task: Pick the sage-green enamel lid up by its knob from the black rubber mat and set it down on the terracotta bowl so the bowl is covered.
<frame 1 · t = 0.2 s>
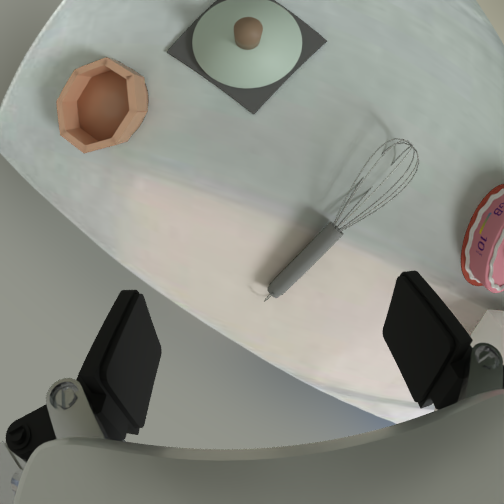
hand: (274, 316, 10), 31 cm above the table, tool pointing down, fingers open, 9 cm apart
lid: (247, 40, 28), resting on mat
kitchen whisk: (336, 220, 42), on the table
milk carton: (481, 335, 59), on the table
bowl: (109, 104, 31), on the table
mat: (247, 41, 29), on the table
cake: (495, 236, 44), on the table
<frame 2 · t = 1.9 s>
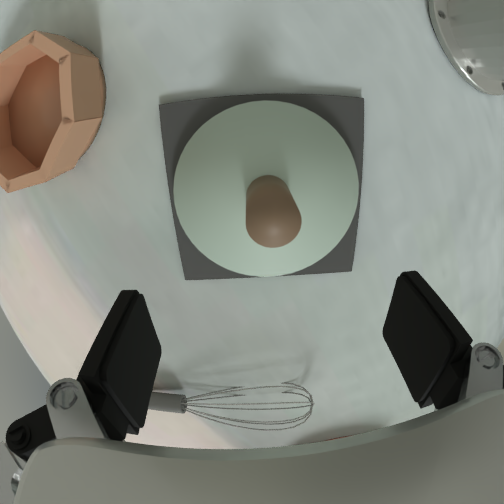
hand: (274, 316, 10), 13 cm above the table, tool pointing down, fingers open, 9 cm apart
lid: (267, 193, 21), resting on mat
kitchen whisk: (190, 391, 35), on the table
bowl: (50, 107, 17), on the table
mat: (267, 191, 21), on the table
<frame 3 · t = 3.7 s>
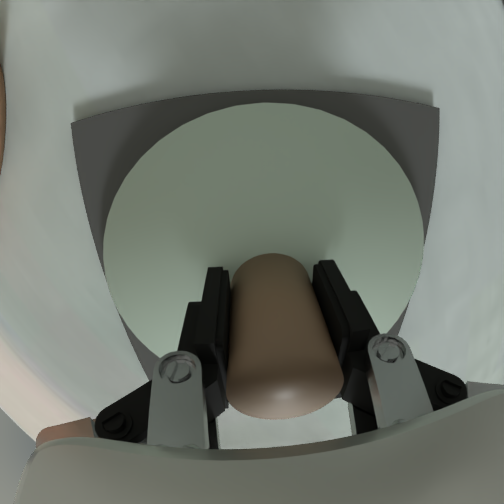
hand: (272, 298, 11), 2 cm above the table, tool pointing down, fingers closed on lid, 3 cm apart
lid: (269, 277, 12), resting on mat, touching gripper
mat: (268, 272, 12), on the table
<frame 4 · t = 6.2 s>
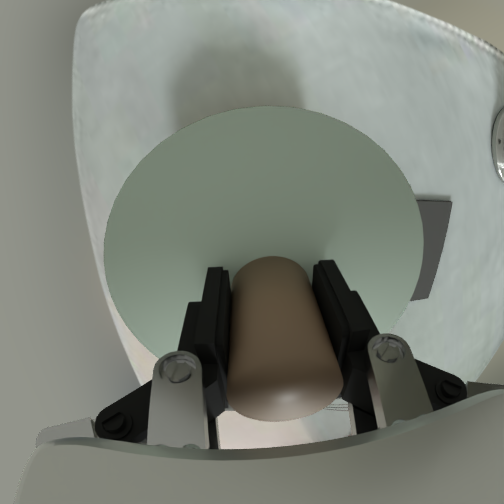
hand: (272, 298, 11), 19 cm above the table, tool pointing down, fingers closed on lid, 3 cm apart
lid: (269, 280, 12), point 18 cm above the table, touching gripper
mat: (397, 256, 32), on the table
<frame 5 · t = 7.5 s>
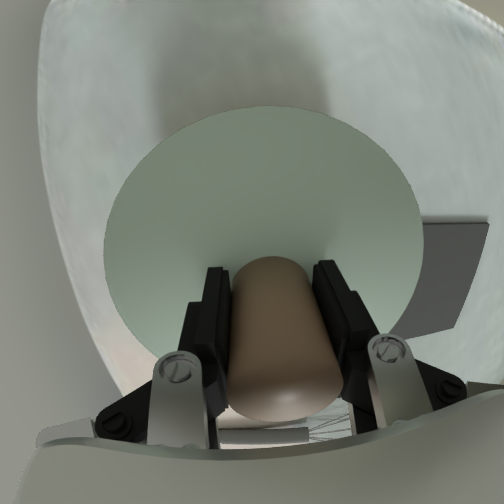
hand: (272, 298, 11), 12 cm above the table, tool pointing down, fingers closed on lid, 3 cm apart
lid: (269, 280, 12), point 11 cm above the table, touching gripper
kitchen whisk: (309, 422, 39), on the table
mat: (427, 286, 26), on the table
when the fingers open (7 cm above the table, at t = 8.7 s): lid stays where it is, resting on bowl.
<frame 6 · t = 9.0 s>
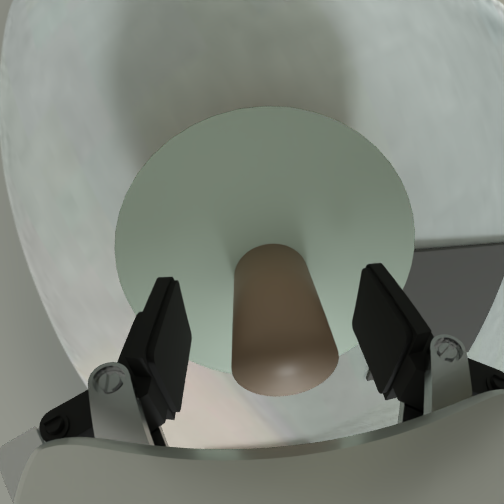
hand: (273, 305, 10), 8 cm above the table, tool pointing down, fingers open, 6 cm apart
lid: (269, 267, 13), point 5 cm above the table, touching bowl
mat: (446, 314, 22), on the table
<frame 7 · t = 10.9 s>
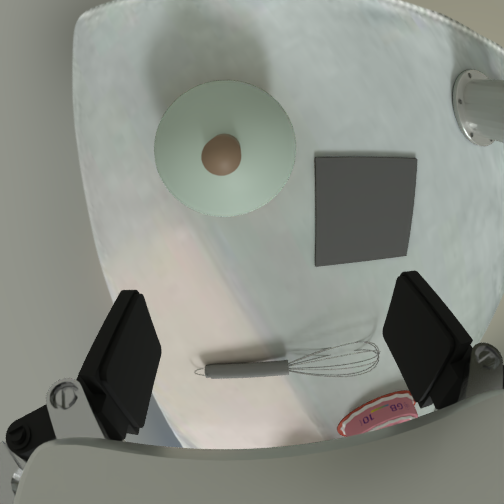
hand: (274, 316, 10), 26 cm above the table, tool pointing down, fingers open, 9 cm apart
lid: (224, 148, 27), point 5 cm above the table, touching bowl
kitchen whisk: (289, 357, 49), on the table
mat: (367, 211, 36), on the table
cake: (377, 414, 64), on the table
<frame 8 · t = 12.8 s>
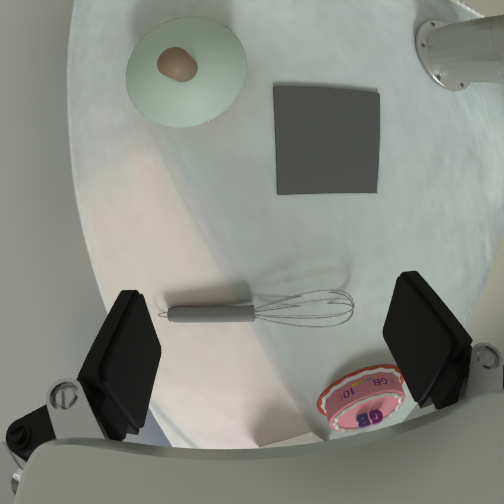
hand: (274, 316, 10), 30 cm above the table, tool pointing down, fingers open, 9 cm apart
lid: (184, 70, 26), point 5 cm above the table, touching bowl
kitchen whisk: (256, 305, 48), on the table
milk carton: (294, 445, 78), on the table
mat: (330, 140, 35), on the table
cake: (361, 392, 64), on the table
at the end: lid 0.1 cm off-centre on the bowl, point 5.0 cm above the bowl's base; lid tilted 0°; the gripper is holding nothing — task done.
